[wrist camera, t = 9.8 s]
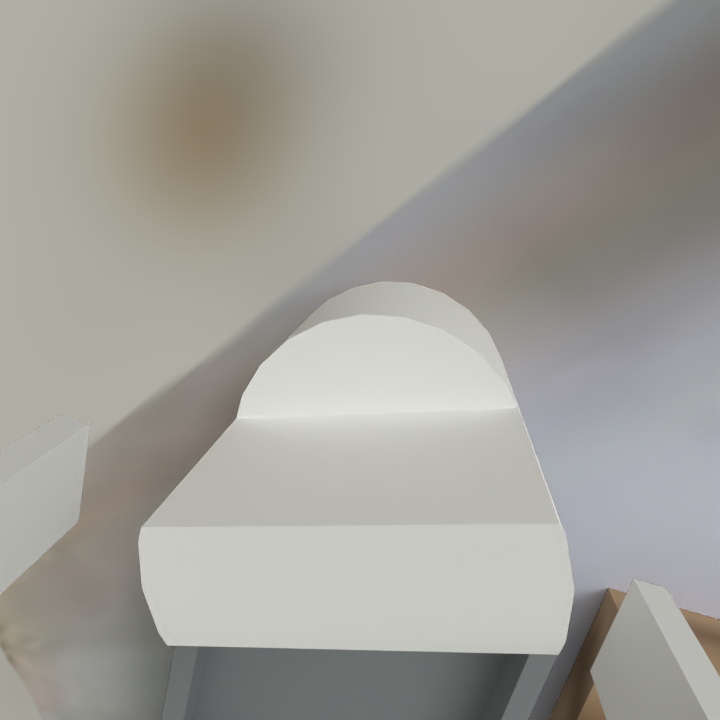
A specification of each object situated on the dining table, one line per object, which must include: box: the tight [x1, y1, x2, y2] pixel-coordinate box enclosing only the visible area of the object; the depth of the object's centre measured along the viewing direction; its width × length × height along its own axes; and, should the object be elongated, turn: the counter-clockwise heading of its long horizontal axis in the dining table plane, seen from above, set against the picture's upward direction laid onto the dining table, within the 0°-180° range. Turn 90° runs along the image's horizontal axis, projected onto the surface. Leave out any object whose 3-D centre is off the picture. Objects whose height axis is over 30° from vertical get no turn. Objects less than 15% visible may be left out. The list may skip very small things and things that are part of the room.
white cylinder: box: [138, 281, 575, 655], centre depth 18 cm, size 9×9×12 cm
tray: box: [161, 646, 557, 720], centre depth 26 cm, size 15×15×3 cm
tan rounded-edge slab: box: [549, 588, 720, 720], centre depth 25 cm, size 10×8×2 cm
